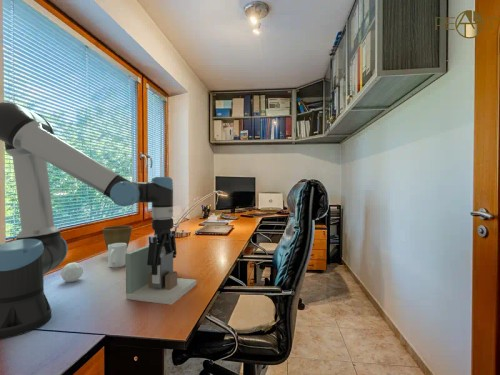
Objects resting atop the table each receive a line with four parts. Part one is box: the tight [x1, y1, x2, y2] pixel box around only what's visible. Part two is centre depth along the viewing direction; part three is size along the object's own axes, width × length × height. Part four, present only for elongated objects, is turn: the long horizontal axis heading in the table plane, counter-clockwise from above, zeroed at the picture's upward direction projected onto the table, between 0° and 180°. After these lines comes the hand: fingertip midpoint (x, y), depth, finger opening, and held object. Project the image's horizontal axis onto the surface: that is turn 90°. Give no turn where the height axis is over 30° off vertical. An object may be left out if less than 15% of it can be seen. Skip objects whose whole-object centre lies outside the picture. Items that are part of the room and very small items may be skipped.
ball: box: [60, 261, 84, 283], centre depth 110 cm, size 8×8×8 cm
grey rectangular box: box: [153, 251, 174, 288], centre depth 99 cm, size 8×4×11 cm, turn 165°
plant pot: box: [102, 225, 133, 251], centre depth 150 cm, size 15×15×16 cm
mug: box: [107, 243, 128, 269], centre depth 129 cm, size 12×8×10 cm
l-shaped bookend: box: [125, 243, 197, 306], centre depth 99 cm, size 18×18×16 cm
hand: (163, 278), depth 99 cm, fingers closed on grey rectangular box, 8 cm apart
